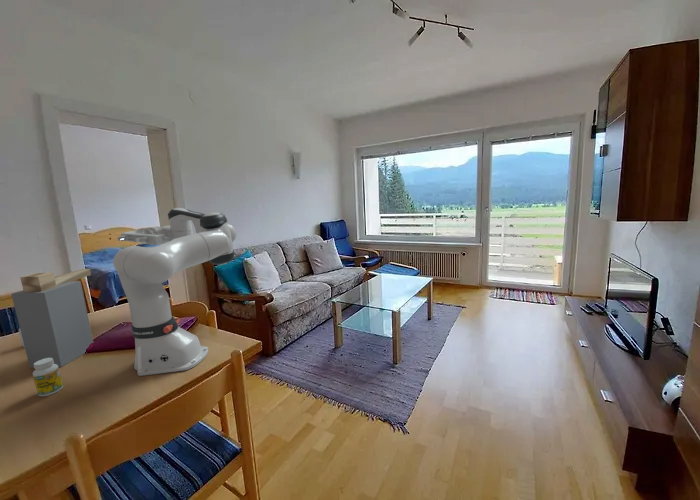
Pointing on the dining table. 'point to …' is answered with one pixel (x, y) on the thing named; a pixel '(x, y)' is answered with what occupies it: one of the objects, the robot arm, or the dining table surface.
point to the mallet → (50, 280)
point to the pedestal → (54, 323)
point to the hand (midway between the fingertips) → (126, 239)
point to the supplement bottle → (47, 377)
